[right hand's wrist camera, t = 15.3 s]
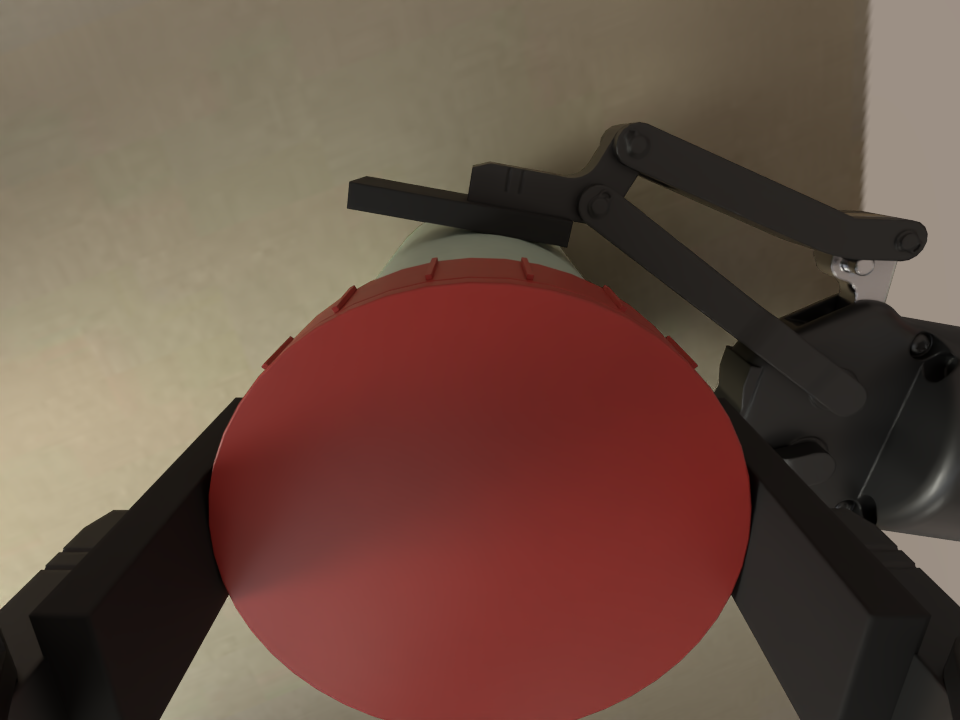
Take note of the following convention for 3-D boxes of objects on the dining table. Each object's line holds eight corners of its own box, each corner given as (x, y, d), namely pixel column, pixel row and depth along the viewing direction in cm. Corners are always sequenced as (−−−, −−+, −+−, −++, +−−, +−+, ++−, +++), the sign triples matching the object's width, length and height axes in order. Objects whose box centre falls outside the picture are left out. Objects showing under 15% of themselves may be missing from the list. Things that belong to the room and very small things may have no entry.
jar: (593, 219, 24) (768, 340, 10) (558, 403, 27) (649, 708, 13) (390, 193, 24) (247, 275, 9) (376, 382, 27) (253, 671, 12)
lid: (178, 299, 11) (114, 333, 9) (706, 210, 10) (757, 225, 8) (317, 678, 14) (291, 761, 12) (717, 627, 14) (756, 705, 12)
